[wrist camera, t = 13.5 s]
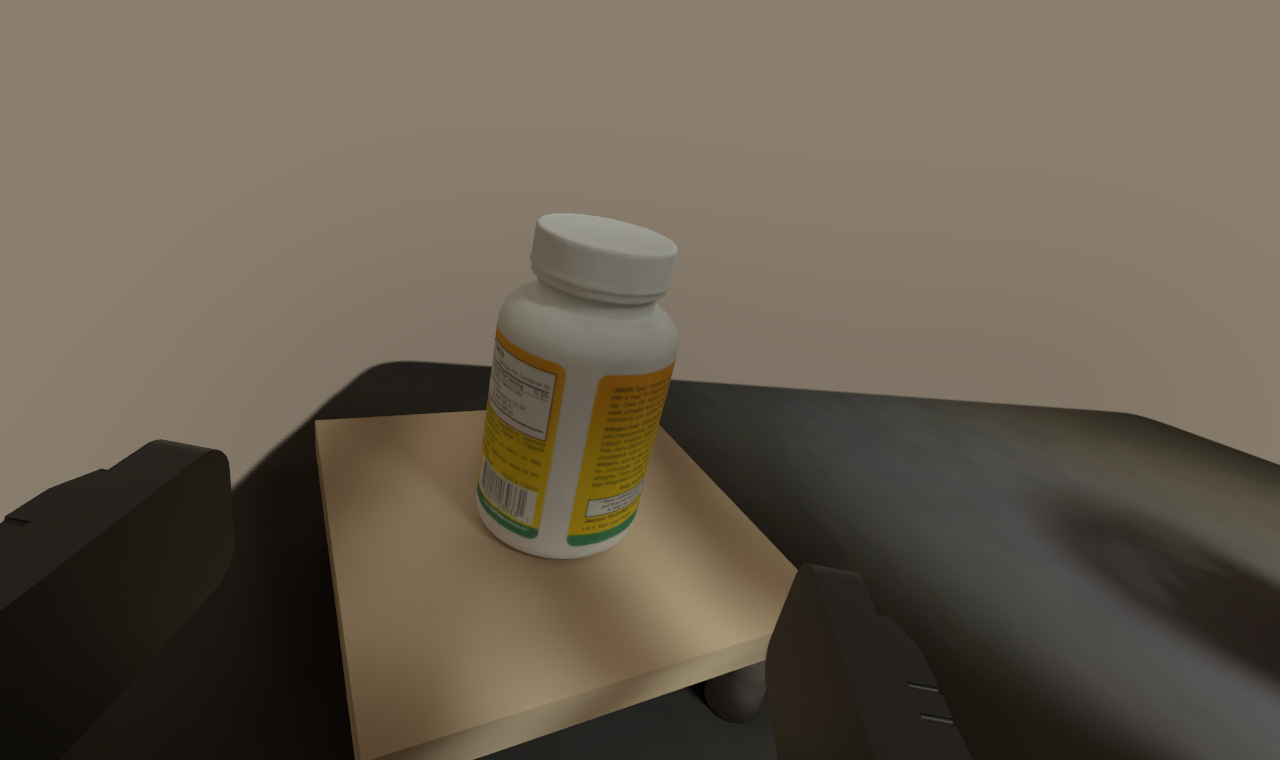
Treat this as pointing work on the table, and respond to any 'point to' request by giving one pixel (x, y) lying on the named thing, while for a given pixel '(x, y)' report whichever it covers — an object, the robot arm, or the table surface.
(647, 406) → the supplement bottle
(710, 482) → the peg shelf
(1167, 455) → the table surface
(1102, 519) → the table surface
